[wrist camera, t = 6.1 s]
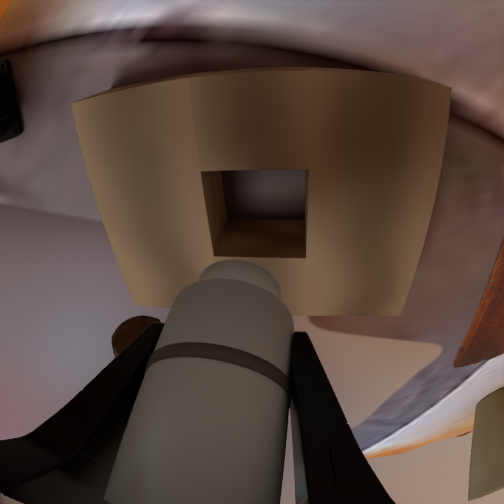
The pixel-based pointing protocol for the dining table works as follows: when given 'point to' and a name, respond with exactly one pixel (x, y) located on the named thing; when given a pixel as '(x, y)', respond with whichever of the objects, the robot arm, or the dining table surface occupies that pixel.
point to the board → (270, 158)
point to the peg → (212, 397)
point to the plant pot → (487, 447)
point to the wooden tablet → (486, 322)
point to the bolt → (130, 332)
